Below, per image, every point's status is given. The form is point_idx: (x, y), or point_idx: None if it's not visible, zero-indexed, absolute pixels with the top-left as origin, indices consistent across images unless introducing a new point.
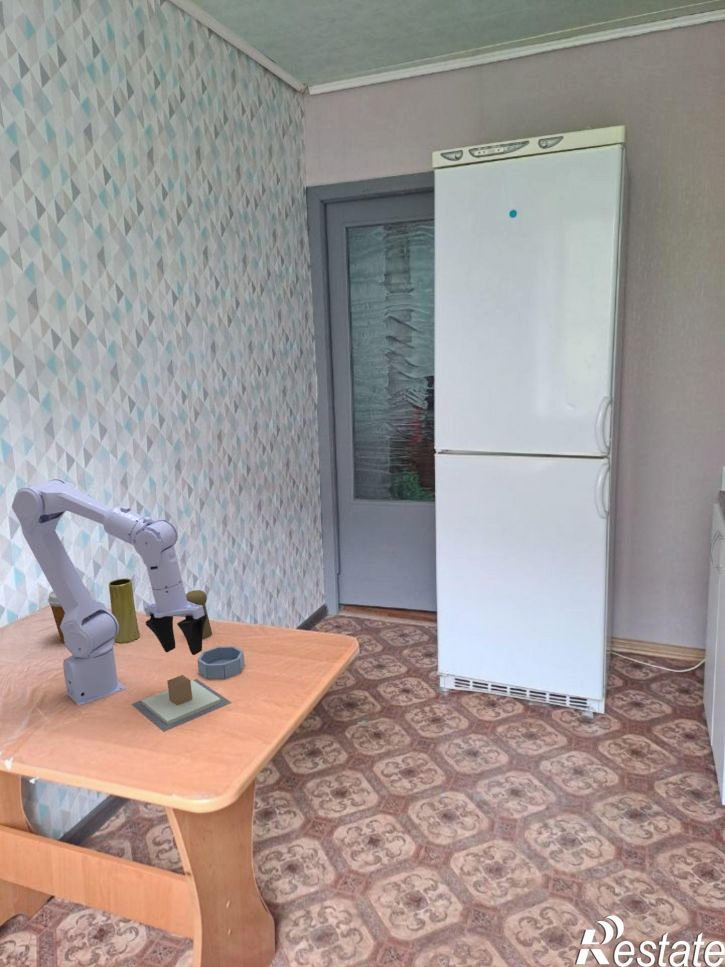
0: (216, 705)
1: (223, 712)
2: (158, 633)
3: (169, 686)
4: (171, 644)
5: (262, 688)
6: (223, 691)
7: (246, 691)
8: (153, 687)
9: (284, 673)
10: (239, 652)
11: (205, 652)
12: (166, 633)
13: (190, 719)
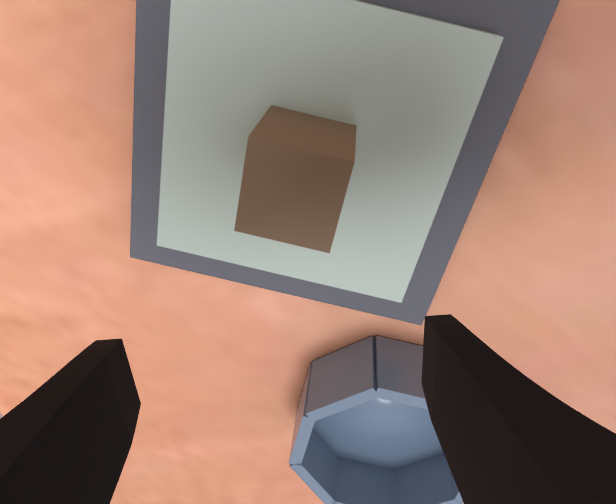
0: (156, 212)
1: (105, 194)
2: (516, 437)
3: (332, 145)
4: (434, 392)
5: (148, 372)
6: (249, 305)
7: (175, 338)
8: (580, 196)
9: (176, 457)
10: (343, 497)
11: None
12: (485, 474)
13: (140, 67)
